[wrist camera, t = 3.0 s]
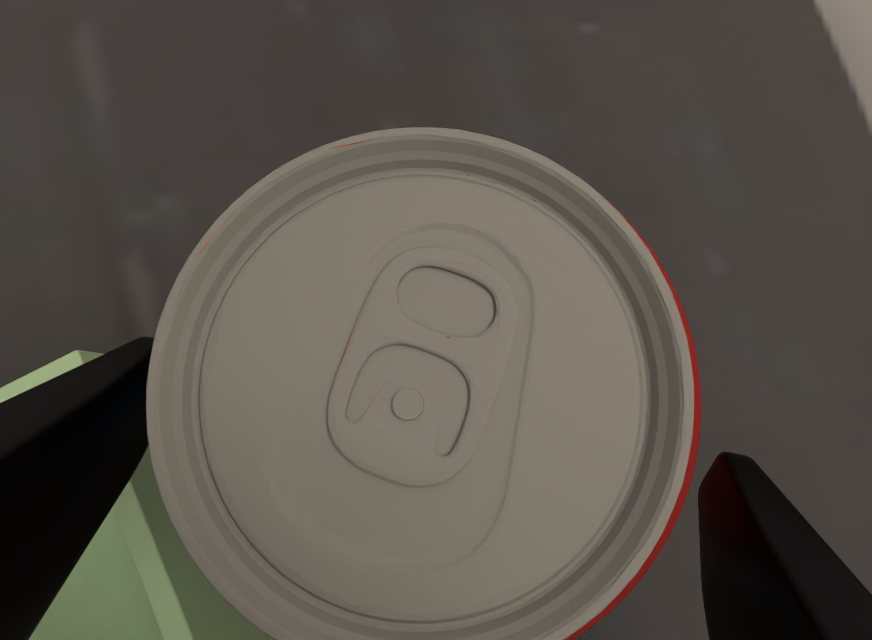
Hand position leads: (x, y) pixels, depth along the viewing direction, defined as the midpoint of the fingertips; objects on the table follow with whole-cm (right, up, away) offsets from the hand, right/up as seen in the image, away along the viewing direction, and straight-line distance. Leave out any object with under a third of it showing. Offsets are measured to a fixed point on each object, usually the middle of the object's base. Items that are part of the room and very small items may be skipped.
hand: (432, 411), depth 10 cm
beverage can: (+1, -1, +8) cm, 8 cm away
